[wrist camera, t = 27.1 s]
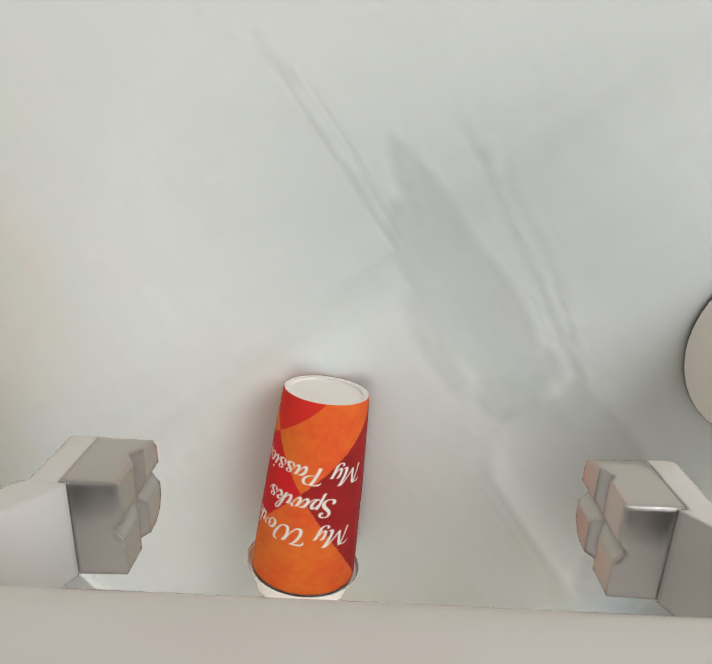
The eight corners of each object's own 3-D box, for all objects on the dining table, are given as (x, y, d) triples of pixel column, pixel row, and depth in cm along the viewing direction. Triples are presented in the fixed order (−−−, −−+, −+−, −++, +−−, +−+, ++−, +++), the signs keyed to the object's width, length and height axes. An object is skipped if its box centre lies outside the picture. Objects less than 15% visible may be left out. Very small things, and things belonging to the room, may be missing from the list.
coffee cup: (371, 422, 37) (339, 629, 40) (395, 384, 45) (366, 560, 48) (245, 393, 39) (224, 594, 42) (289, 362, 46) (269, 534, 50)
